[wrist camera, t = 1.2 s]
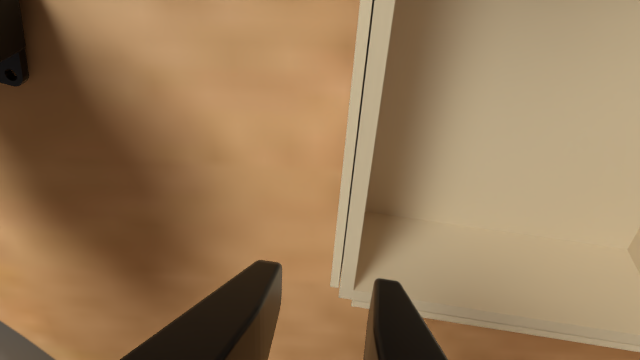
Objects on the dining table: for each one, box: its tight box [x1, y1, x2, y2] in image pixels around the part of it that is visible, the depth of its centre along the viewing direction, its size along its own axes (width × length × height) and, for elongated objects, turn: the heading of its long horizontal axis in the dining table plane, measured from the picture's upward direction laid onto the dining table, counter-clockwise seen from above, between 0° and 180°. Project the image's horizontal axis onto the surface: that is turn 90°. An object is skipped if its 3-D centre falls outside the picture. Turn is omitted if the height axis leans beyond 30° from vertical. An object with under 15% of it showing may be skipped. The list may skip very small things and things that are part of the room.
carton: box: [330, 0, 640, 352], centre depth 16 cm, size 12×17×5 cm
